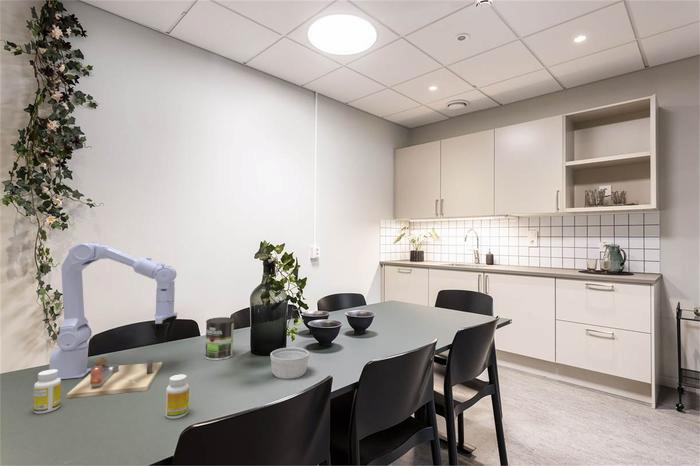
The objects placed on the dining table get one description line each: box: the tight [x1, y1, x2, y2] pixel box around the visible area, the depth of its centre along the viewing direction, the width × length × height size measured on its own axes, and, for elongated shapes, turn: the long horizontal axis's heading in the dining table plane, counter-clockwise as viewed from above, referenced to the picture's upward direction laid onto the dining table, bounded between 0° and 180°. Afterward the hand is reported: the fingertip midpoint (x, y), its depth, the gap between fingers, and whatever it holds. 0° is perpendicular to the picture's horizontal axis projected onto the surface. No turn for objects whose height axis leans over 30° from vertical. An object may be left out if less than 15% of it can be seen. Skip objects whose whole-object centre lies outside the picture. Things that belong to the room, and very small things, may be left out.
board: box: [66, 356, 163, 399], centre depth 112 cm, size 20×22×5 cm
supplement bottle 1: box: [32, 369, 62, 415], centre depth 92 cm, size 5×5×10 cm
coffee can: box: [204, 316, 235, 361], centre depth 137 cm, size 10×10×14 cm
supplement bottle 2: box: [164, 373, 190, 420], centre depth 91 cm, size 5×5×10 cm
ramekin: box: [269, 347, 310, 380], centre depth 120 cm, size 13×13×7 cm
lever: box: [90, 363, 120, 387], centre depth 110 cm, size 16×4×6 cm, turn 18°
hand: (163, 339), depth 123 cm, fingers open, 7 cm apart
